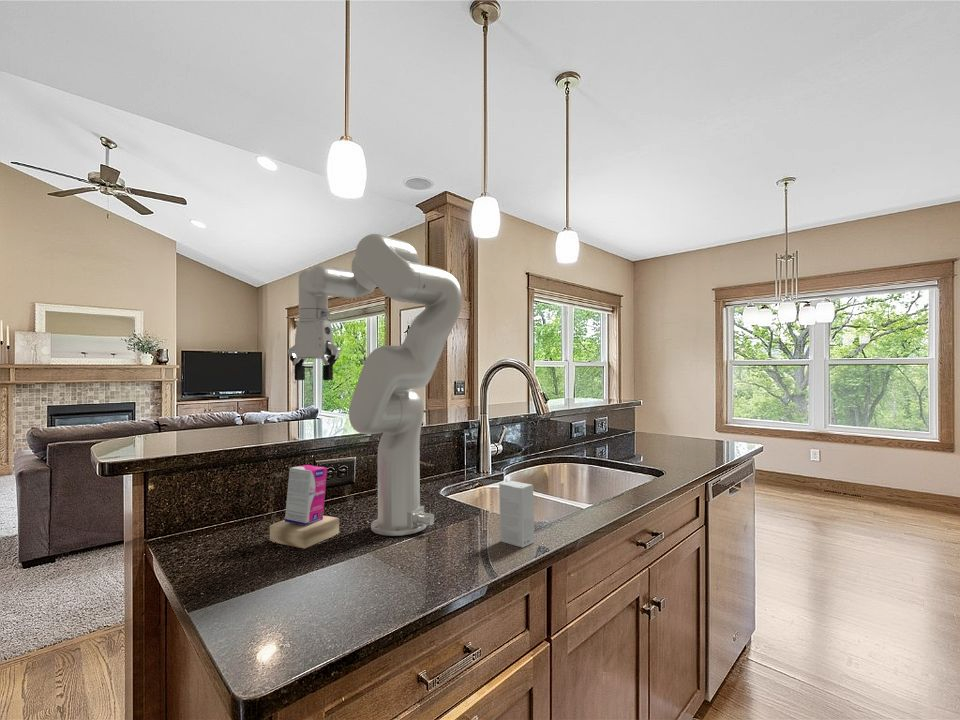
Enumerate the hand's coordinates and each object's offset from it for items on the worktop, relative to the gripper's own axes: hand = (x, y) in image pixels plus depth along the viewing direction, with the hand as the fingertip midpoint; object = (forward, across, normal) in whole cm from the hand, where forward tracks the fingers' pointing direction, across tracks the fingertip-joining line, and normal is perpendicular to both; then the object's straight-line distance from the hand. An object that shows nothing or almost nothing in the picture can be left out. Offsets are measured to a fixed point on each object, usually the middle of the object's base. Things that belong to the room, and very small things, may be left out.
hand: (313, 380), depth 132 cm
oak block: (+34, -16, +21) cm, 43 cm away
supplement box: (+30, -17, +21) cm, 40 cm away
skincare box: (+33, -60, +7) cm, 69 cm away
